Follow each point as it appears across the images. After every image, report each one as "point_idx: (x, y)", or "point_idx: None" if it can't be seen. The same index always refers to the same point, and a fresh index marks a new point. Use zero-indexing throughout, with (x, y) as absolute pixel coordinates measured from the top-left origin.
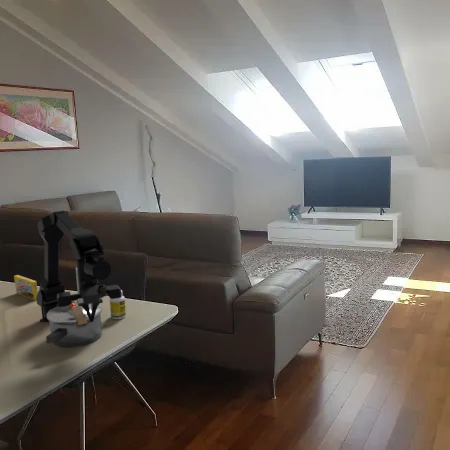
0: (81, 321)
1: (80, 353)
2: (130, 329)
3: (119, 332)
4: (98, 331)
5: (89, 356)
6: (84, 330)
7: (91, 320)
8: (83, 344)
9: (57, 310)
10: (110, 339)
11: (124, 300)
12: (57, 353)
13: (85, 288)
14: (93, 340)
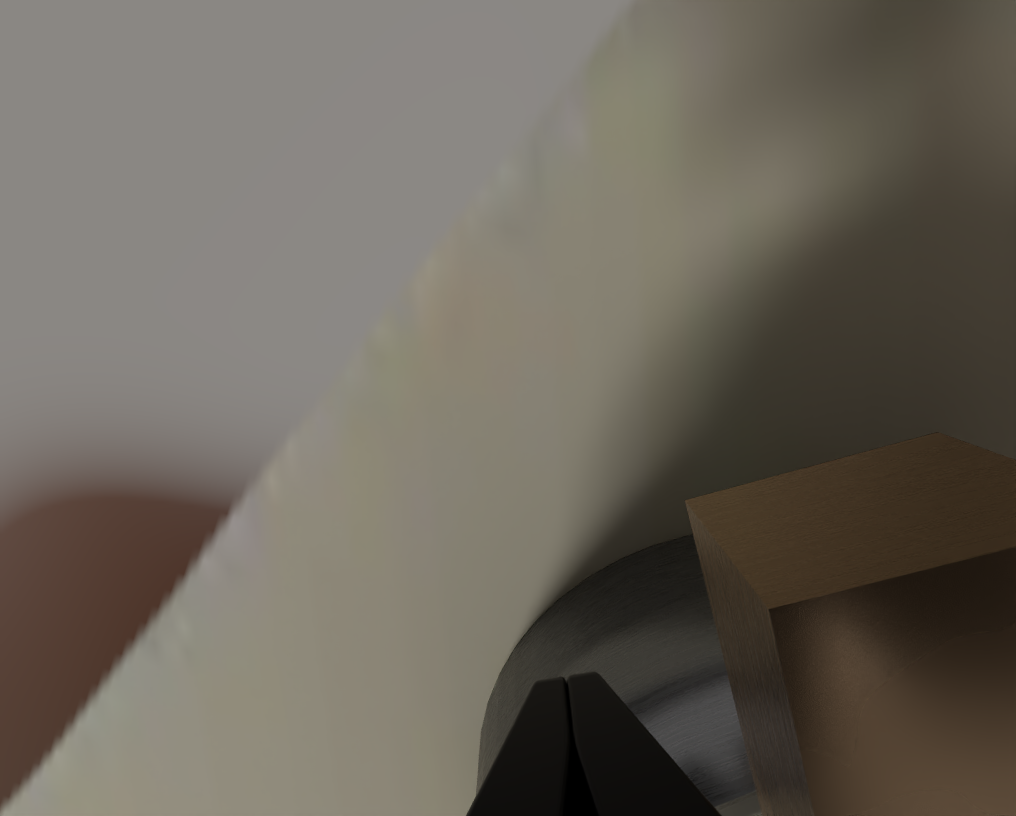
0: (899, 487)
1: (686, 353)
2: (191, 803)
3: (299, 764)
4: (499, 736)
5: (579, 240)
6: (686, 669)
7: (575, 692)
8: (663, 550)
9: None
10: (377, 623)
11: None
12: (942, 424)
13: None
14: (556, 615)
